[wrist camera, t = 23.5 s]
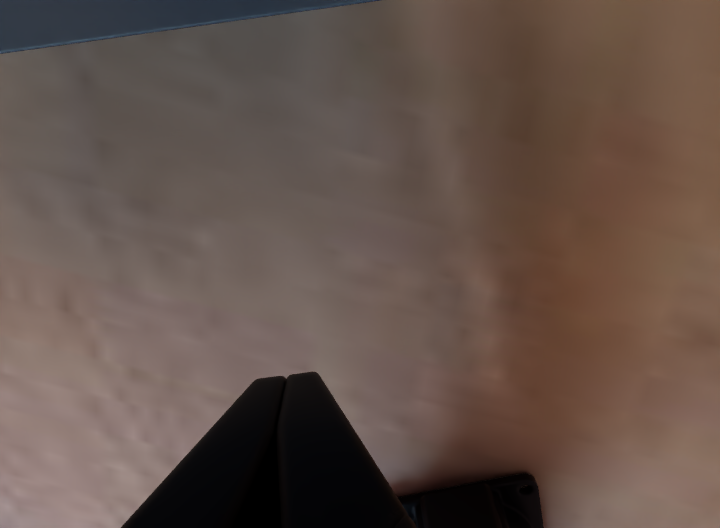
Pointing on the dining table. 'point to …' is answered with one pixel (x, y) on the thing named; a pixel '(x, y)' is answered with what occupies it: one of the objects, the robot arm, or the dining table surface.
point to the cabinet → (127, 17)
